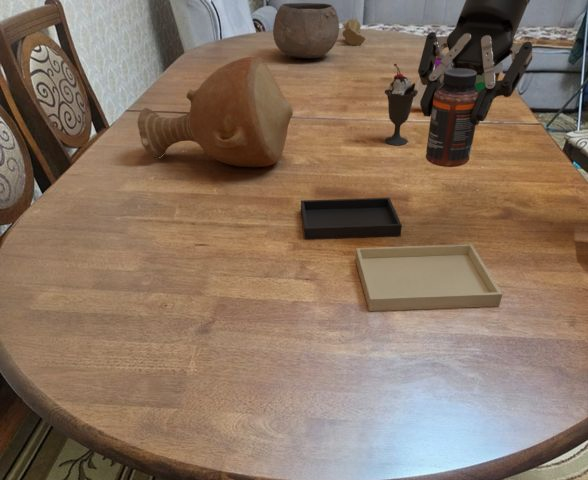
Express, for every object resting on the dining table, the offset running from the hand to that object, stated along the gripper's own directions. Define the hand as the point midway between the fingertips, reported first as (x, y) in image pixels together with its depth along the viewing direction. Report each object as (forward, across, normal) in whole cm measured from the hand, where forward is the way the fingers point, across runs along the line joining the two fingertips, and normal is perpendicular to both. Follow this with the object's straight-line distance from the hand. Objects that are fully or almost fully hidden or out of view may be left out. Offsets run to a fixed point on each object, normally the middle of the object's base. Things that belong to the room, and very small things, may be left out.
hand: (449, 117), depth 71 cm
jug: (+6, -49, +21) cm, 54 cm away
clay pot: (-53, -82, +80) cm, 127 cm away
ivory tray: (+20, +3, +7) cm, 21 cm away
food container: (-38, -20, +65) cm, 78 cm away
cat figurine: (-72, -80, +100) cm, 147 cm away
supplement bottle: (+3, 0, +6) cm, 7 cm away
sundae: (-14, -24, +41) cm, 50 cm away
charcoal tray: (+13, -14, +14) cm, 24 cm away
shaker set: (-31, -26, +58) cm, 71 cm away
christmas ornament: (-42, -32, +70) cm, 88 cm away
